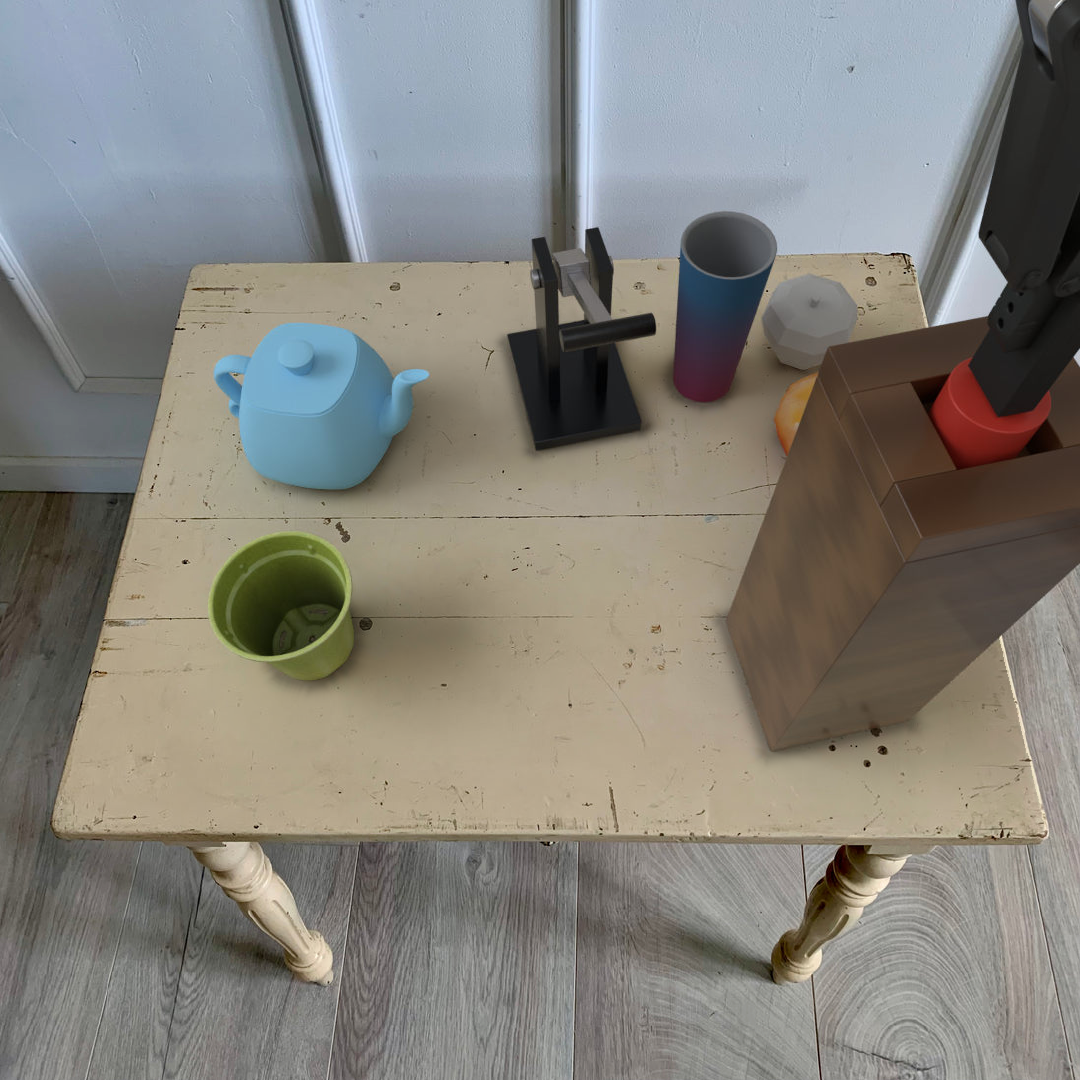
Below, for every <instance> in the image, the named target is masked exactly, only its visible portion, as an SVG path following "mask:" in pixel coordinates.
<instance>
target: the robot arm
mask: <svg viewBox="0 0 1080 1080" xmlns="http://www.w3.org/2000/svg"><path fill="white" fill-rule="evenodd" d="M1014 1H1015V5H1016V11H1017V16H1018V21H1019V25H1020V32H1021V36H1022V41H1023V44H1022V49H1021V52H1020V56H1019V61H1018V66H1017V69H1016V74H1015V77H1014V82H1013V86H1012V90H1011V94H1010V99H1009V103H1008V107H1007V111H1006V116H1005V120H1004V124H1003V128H1002V131H1001V136H1000V141H999V144H998V149H997V153H996V158H995V162H994V164H993V170H992V173H991V179H990V183H989V187H988V191H987V195H986V198H985V199H986V200H985V204H984V208H983V211H982V216H981V219H980V224H979V229H978V232H977V233H978V234H977V235H978V239H979V240H980V242H981V243H982V245H983V246H984V248H985V250H986V251H987V253H988V254H989V256H990V257H991V259H992V261H993V262H994V264H995V265H996V267H997V268H998V270H999V272H1000V273H1001V275H1002V276H1003V277H1004V279H1005V281H1006V283H1005V286H1004V288H1003V289H1002V291H1001V293H1000V295H999V297H998V298H997V299H996V301H995V303H994V305H993V306H992V307H991V309H990V312H989V313H988V315H987V316H988V323H987V324H988V326H989V328H990V329H989V331H988V333H987V334H986V336H985V338H984V339H983V341H982V343H981V344H980V346H979V348H978V349H977V351H976V353H975V354H974V356H973V358H972V359H971V361H970V363H969V364H968V366H969V368H970V370H971V372H972V373H973V375H974V377H975V379H976V380H977V382H978V384H979V386H980V387H981V389H982V391H983V392H984V394H985V396H986V398H987V399H988V401H989V403H990V405H991V406H992V408H993V410H994V412H995V413H996V415H997V417H1003V416H1008V415H1013V414H1018V413H1023V412H1028V411H1033V410H1034V409H1035V408H1036V406H1037V405H1038V404H1039V402H1040V401H1041V400H1042V398H1043V397H1044V396H1045V394H1046V393H1047V392H1048V390H1049V389H1050V388H1051V386H1052V385H1053V384H1054V382H1055V381H1056V380H1057V378H1058V377H1059V376H1060V374H1061V373H1062V372H1063V370H1064V369H1065V368H1066V366H1067V365H1068V364H1069V362H1070V361H1071V360H1072V358H1073V357H1074V358H1075V356H1076V354H1077V353H1078V352H1079V350H1080V0H1014Z"/></svg>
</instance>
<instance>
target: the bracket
mask: <svg viewBox="0 0 1080 1080" xmlns="http://www.w3.org/2000/svg"><path fill="white" fill-rule="evenodd" d="M584 232H585V233H584V237H585V238H584V254H585V255H586V257H587V258H588V260H589V263H590V275H591V286H592V287H593V289H594V291H595V292H596V294H597V295H598V297H599V299H600V300H601V302H602V303H603V305H604V307H605V308H606V310H607V311H608V313H609V315H610V316H611V317H612V304H613V303H612V302H613V281H614V274H615V267H614V266H615V265H614V260H613V258H612V255H609V253H608V251H607V248H606V245H605V242H604V238H603V236H602V233H601V230H600V228H599V226H596V227H591V228H586V229H584ZM531 253H532V269H530V271H529V277H530V283H531V287H532V289H533V291H534V310H535V328H533V329H526V330H521V331H517V332H511V333H507V334H506V338H507V339H506V340H507V345H508V349H509V353H510V357H511V361H512V365H513V369H514V372H515V373H514V374H515V377H516V380H517V384H518V389H519V392H520V396H521V401H522V404H523V408H524V412H525V416H526V419H527V423H528V424H527V425H528V427H529V431H530V436H531V438H532V443H533V446H534V450H535V451H543V450H547V449H552V448H557V447H563V446H568V445H572V444H573V445H574V444H577V443H583V442H589V441H595V440H598V439H603V438H609V437H613V436H618V435H625V434H629V433H634V432H639V431H642V425H643V424H642V423H643V422H642V418H641V416H640V412H639V410H638V407H637V404H636V400H635V398H634V395H633V392H632V388H631V386H630V383H629V382H630V381H629V379H628V377H627V373H626V371H625V367H624V364H623V361H622V359H621V355H620V352H619V350H618V347H617V343H611V344H606V345H601V346H595V347H590V348H585V349H579V350H574V351H569V352H563V350H562V347H561V343H560V336H559V331H560V329H565V328H571V327H576V326H581V325H587V324H590V322H589V321H588V319H587V317H586V315H585V313H584V312H583V319H581V320H576V321H571V322H565V323H560V313H559V308H560V306H559V289H558V278H557V275H556V271H555V268H554V265H553V257H552V254H551V252H550V248H549V246H548V242H547V239H546V236H541V237H535V238H531Z"/></svg>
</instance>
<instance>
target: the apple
mask: <svg viewBox="0 0 1080 1080" xmlns="http://www.w3.org/2000/svg"><path fill="white" fill-rule="evenodd" d="M760 320H761V325H762V329H763V335H764V337H765V339H766V340H767V342H768V344H769V346H770V347H771V349H772V350H773V352H774V353H775V355H776V358H778V360H779V361H780V363H781V364H784V365H786V366H790V367H792V368H796V369H799V370H801V371H802V370H803V371H805V370H807V369H808V370H809V369H810V368H814V367H817V366H821V364H822V362H823V359H824V356H825V354H826V351H827V348H828V347H829V346H833V345H839V344H844V343H849V342H850V339H851V337H852V335H853V332H854V329H855V326H856V323H857V320H858V304H857V303H856V301H855V300H854V298H853V297H852V296H851V295H850V293H849V292H848V290H847V289H846V287H844V285H843V284H842V283H841V282H840V281H836V280H832V279H829V278H826V277H823V276H819V275H815V274H812V273H806V274H803V275H800V276H797V277H793V278H790V279H787V280H784V281H780V282H779V283H778V285H777V286H776V288H775V289H774V290H773V291H772V293H771V295H770V297H769V300H768V302H767V303H766V306H765V308H764V311H763V313H762V315H761V319H760Z"/></svg>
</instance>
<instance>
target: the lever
mask: <svg viewBox="0 0 1080 1080" xmlns="http://www.w3.org/2000/svg"><path fill="white" fill-rule="evenodd" d="M551 257H552V261H553V265H554V268H555V271H556V275H557V278H558V292H559V293H560V295H561V297H562V298H567V297H568V298H569V297H573V296H574V297H575V300H576V301H577V303H578V305H579V307H580V308H581V311H582V312H583V314H584V313H585V315H586V317H587V319H588V321H589V322H590V324H587V325H581V326H576V327H571V328H565V329H560V331H559V336H560V343H561V347H562V350H563V352H569V351H574V350H579V349H585V348H590V347H595V346H601V345H606V344H611V343H615V344H617V343H622V342H626V341H633V340H637V339H642V338H649V337H654V336H656V333H657V322H656V321H657V320H656V318H655V314H654V313H653V312H646V313H641V314H636V315H630V316H625V317H620V318H619V317H618V318H615V319H614V318H612V315H611V316H610V315H609V313H608V311H607V310H606V308H605V307H604V305H603V303H602V302H601V300H600V299H599V297H598V295H597V294H596V292H595V291H594V289H593V287H592V286H591V275H590V263H589V260H588V258H587V257H586V255H585V251H583V249H582V248H581V247H579V248H574V249H568V250H563V251H557V252H552V254H551Z"/></svg>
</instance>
